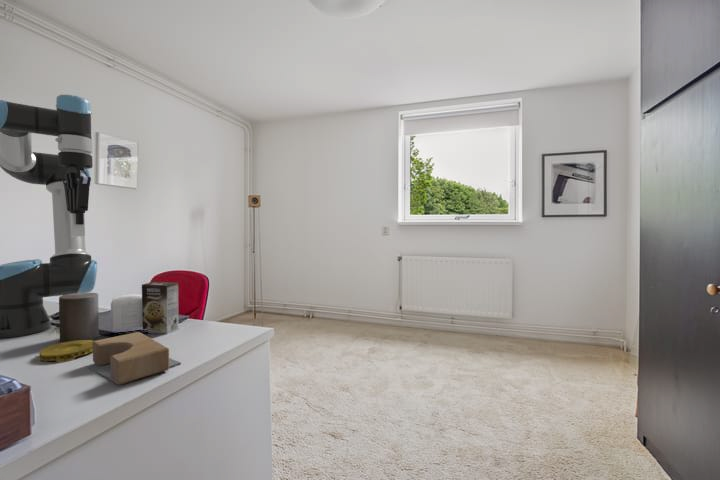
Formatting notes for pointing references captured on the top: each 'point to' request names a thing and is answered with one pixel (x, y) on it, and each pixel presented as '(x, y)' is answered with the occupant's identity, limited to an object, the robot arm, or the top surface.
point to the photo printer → (126, 312)
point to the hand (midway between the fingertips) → (78, 236)
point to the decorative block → (131, 356)
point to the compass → (66, 350)
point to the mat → (106, 369)
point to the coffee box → (160, 307)
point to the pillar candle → (78, 317)
